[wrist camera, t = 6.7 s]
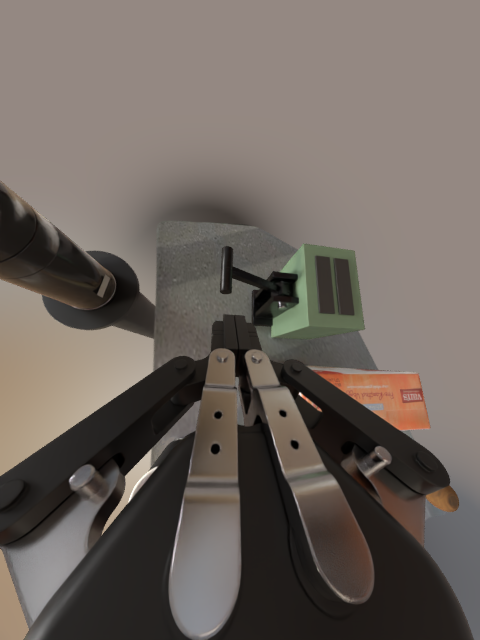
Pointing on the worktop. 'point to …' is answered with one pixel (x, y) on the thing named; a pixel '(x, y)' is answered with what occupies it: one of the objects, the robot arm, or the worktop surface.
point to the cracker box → (382, 394)
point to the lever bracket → (272, 301)
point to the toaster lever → (248, 278)
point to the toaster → (321, 295)
